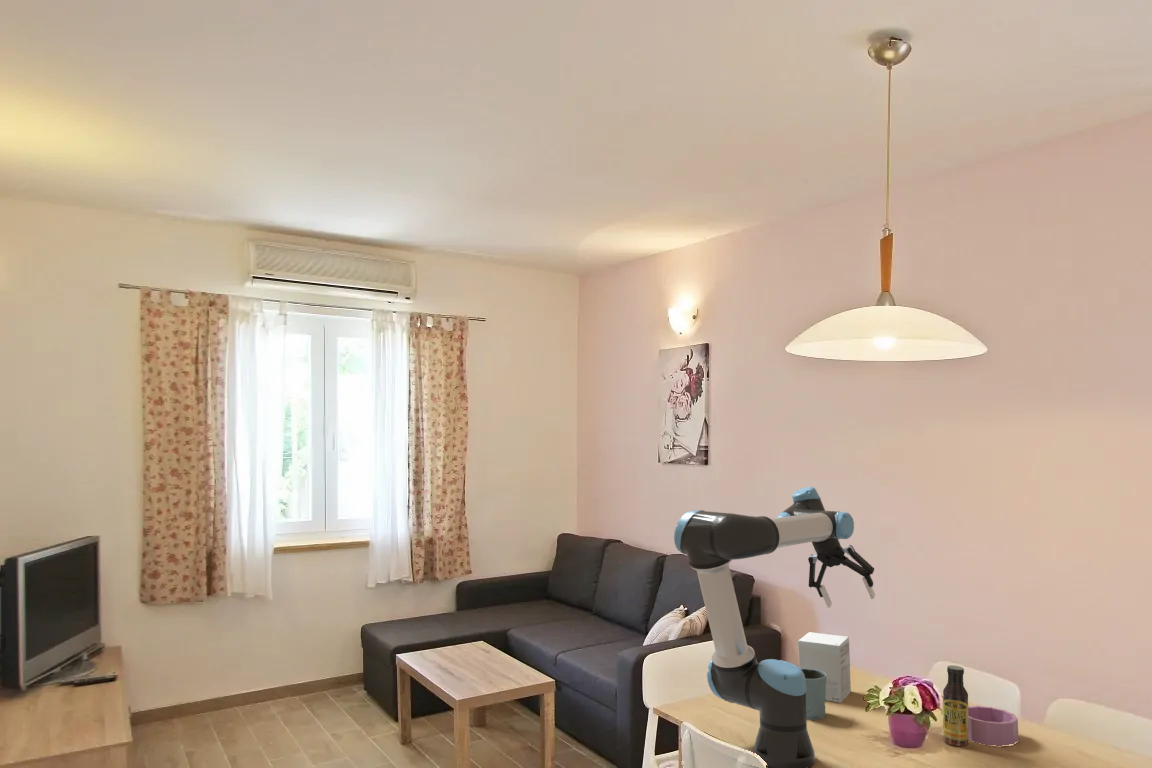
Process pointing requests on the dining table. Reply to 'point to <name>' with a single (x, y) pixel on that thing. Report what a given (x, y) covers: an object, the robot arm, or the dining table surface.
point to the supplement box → (828, 661)
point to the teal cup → (815, 693)
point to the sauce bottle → (955, 708)
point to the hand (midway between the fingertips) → (851, 601)
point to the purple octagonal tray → (992, 726)
